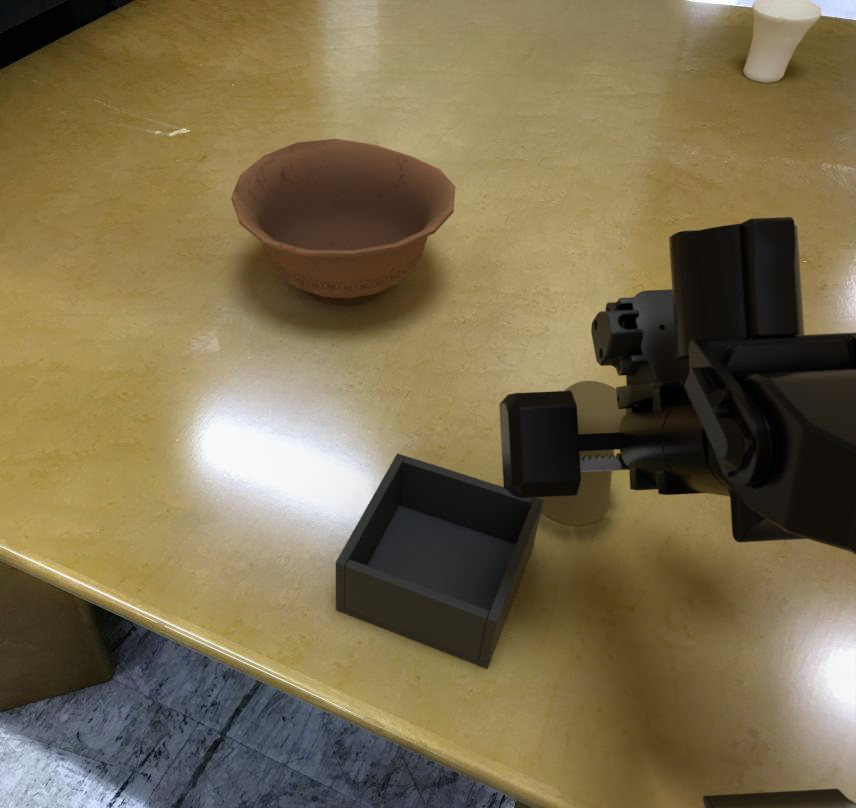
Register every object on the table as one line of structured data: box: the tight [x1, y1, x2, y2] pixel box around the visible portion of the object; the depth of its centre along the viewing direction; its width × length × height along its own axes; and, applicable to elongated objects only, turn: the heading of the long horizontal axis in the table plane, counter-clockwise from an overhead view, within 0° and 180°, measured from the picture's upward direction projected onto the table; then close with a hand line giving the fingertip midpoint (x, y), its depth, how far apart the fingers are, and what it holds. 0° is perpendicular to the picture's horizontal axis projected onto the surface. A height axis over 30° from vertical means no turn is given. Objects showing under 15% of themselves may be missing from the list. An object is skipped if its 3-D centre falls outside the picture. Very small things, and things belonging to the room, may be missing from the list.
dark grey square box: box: [335, 453, 544, 669], centre depth 65 cm, size 11×11×6 cm
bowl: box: [230, 138, 456, 307], centre depth 91 cm, size 22×22×11 cm
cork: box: [534, 380, 626, 527], centre depth 69 cm, size 6×6×11 cm
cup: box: [742, 0, 823, 84], centre depth 127 cm, size 9×9×10 cm
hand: (611, 438), depth 62 cm, fingers open, 9 cm apart
